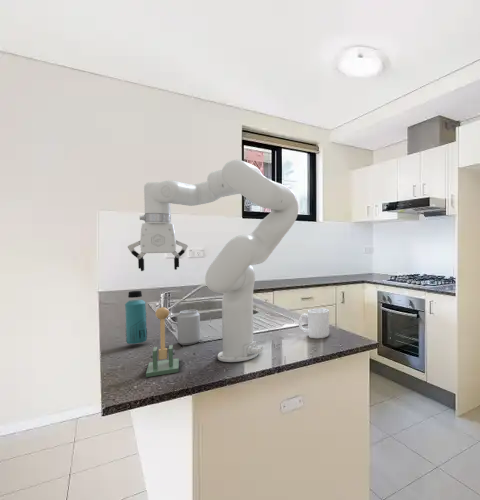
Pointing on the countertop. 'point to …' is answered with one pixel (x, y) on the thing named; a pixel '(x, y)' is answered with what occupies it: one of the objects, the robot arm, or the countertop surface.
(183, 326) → the can
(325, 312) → the cup
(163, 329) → the spoon
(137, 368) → the countertop surface
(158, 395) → the countertop surface
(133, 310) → the beverage bottle
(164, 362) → the spoon stand
